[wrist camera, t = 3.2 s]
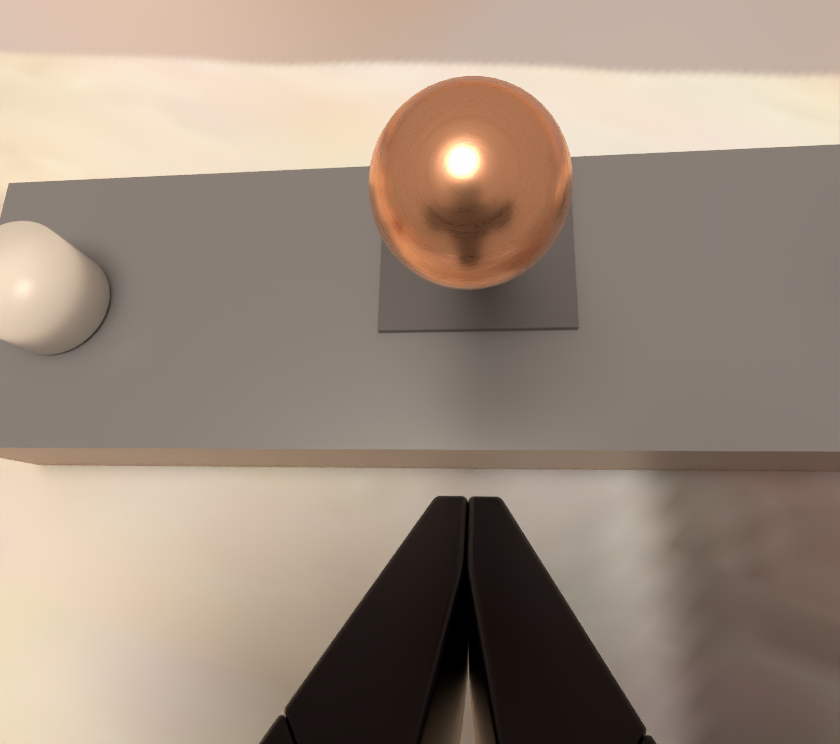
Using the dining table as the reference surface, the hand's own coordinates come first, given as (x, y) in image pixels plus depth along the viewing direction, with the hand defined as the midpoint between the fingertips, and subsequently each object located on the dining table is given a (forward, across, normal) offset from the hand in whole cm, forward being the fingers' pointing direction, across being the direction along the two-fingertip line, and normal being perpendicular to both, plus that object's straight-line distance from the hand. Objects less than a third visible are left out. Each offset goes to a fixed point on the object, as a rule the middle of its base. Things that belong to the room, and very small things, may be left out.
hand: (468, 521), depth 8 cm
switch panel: (+11, 0, +3) cm, 11 cm away
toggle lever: (+9, 0, -1) cm, 9 cm away
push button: (+8, +11, 0) cm, 14 cm away
